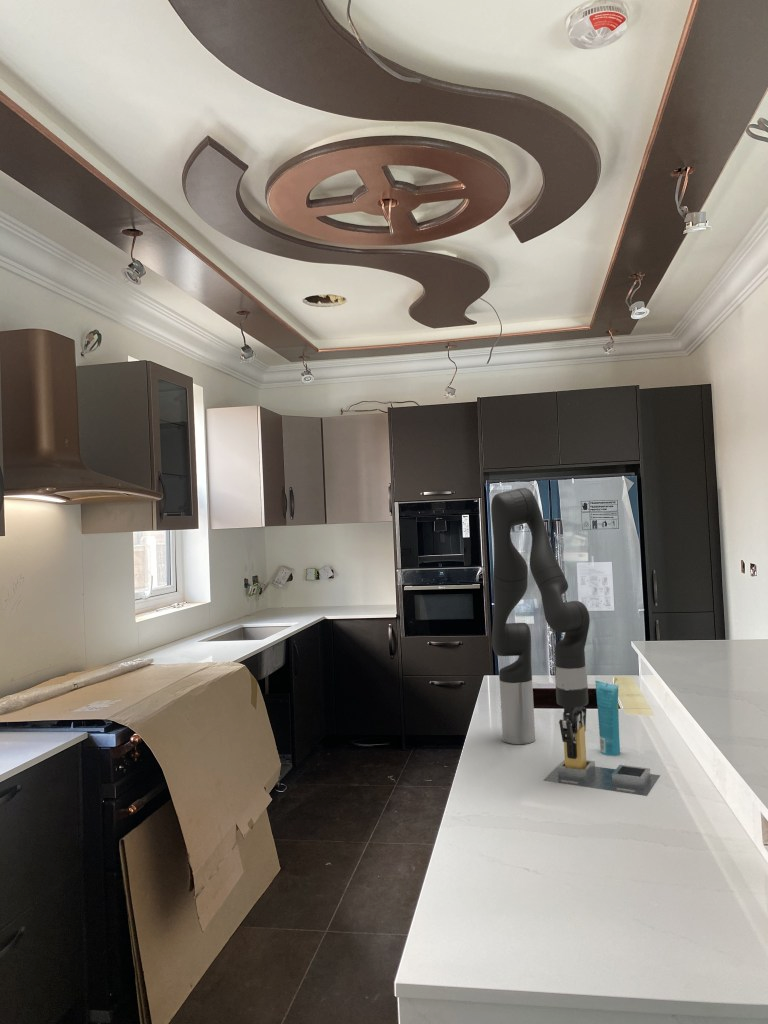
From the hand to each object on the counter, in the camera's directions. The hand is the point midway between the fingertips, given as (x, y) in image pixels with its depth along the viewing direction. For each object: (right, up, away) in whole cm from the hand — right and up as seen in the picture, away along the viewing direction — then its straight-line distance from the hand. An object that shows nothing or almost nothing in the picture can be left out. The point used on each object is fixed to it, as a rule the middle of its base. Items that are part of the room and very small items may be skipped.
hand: (575, 754), depth 181 cm
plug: (0, -3, 0) cm, 3 cm away
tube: (+13, -5, +15) cm, 20 cm away
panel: (+6, -5, -3) cm, 8 cm away
